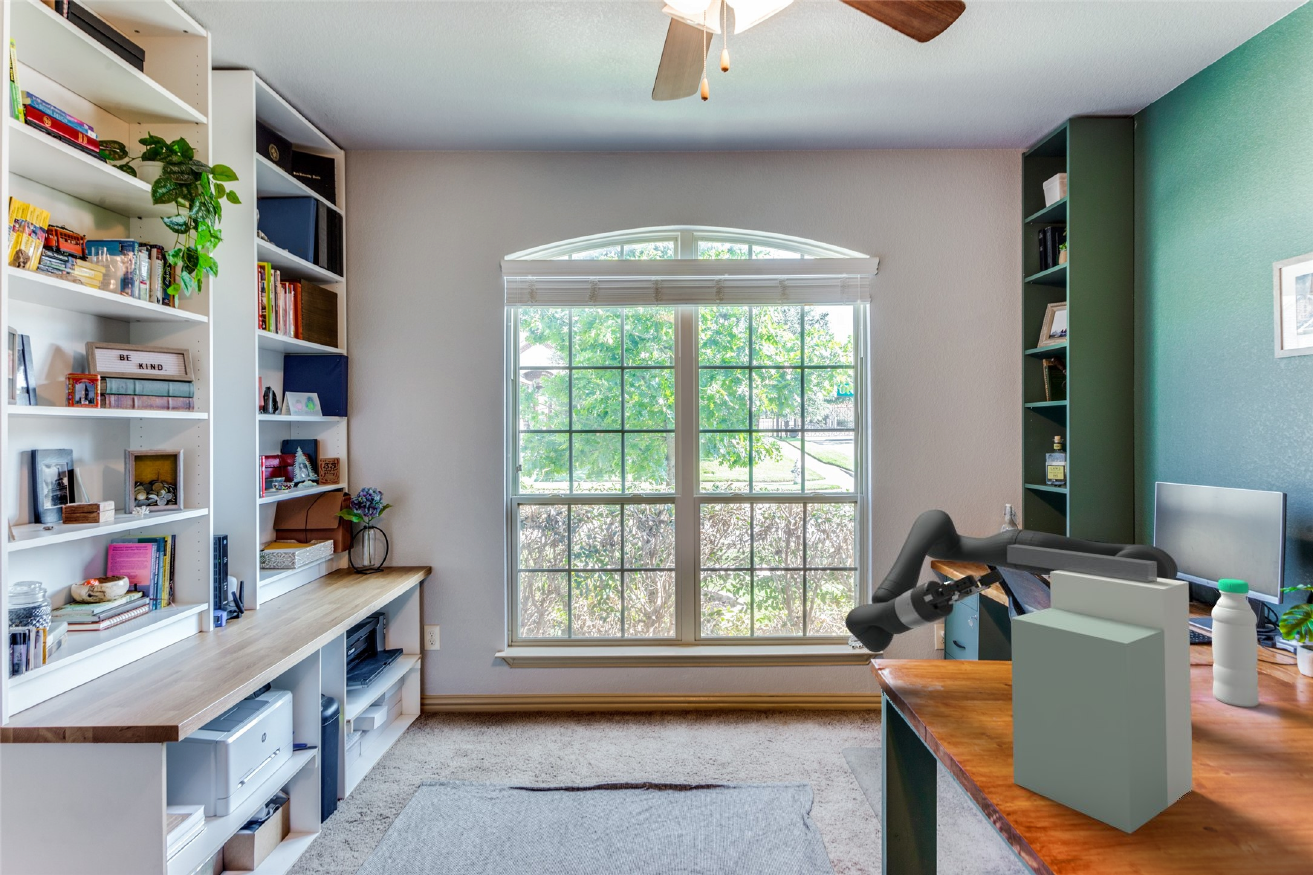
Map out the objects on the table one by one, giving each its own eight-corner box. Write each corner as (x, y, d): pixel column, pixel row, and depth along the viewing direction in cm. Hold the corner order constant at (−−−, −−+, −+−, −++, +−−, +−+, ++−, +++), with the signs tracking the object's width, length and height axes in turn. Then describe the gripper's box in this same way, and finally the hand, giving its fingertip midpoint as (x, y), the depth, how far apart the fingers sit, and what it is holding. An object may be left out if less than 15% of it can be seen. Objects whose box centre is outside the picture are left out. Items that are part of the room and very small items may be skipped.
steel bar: (1007, 562, 118) (1007, 545, 118) (1016, 560, 120) (1016, 544, 120) (1148, 583, 99) (1148, 563, 100) (1157, 580, 101) (1156, 561, 101)
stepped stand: (1013, 782, 102) (1010, 580, 103) (1080, 749, 113) (1076, 566, 114) (1130, 833, 89) (1125, 599, 89) (1192, 789, 100) (1188, 581, 100)
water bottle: (1204, 695, 137) (1201, 577, 137) (1234, 694, 137) (1232, 576, 138) (1236, 708, 130) (1234, 584, 130) (1268, 707, 130) (1266, 583, 131)
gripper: (893, 591, 133) (955, 562, 121) (935, 583, 140) (998, 554, 128) (909, 627, 129) (975, 600, 118) (952, 617, 137) (1018, 591, 125)
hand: (987, 576), depth 123 cm, fingers open, 8 cm apart
